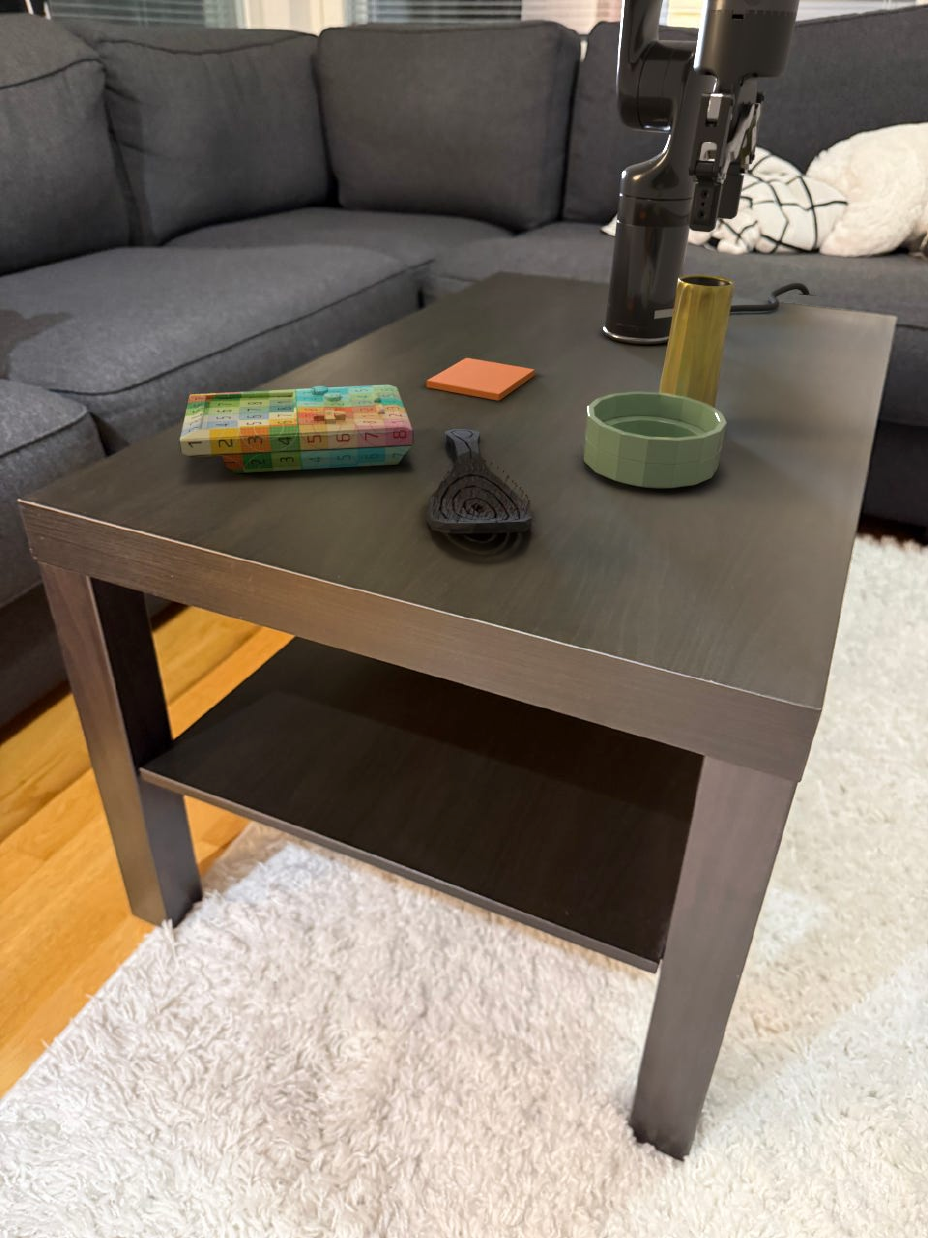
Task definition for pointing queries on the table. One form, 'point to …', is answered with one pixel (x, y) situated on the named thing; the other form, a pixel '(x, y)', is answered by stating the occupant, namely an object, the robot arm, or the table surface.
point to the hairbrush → (475, 494)
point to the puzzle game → (298, 428)
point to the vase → (697, 337)
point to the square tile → (481, 378)
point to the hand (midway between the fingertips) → (713, 224)
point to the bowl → (653, 439)
